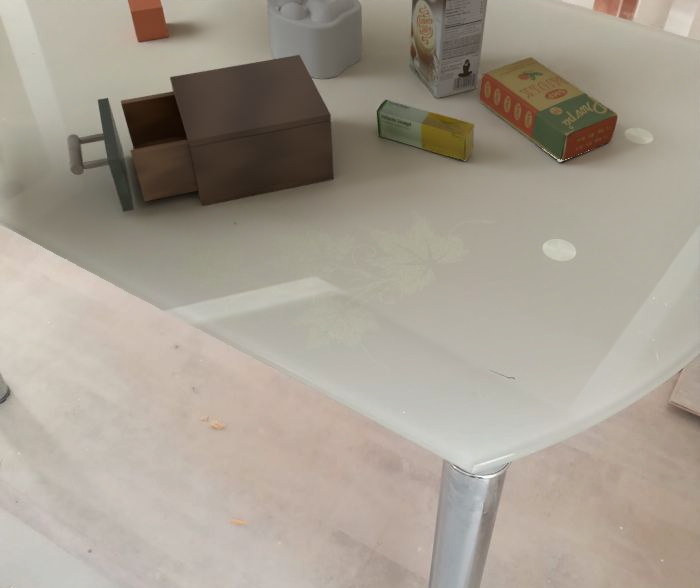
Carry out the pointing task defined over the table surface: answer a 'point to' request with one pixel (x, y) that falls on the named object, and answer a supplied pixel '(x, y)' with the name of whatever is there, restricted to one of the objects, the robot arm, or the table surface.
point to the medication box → (425, 129)
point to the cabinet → (254, 128)
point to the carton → (547, 108)
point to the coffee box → (447, 44)
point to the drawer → (142, 148)
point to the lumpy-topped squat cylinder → (317, 33)
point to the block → (148, 19)
